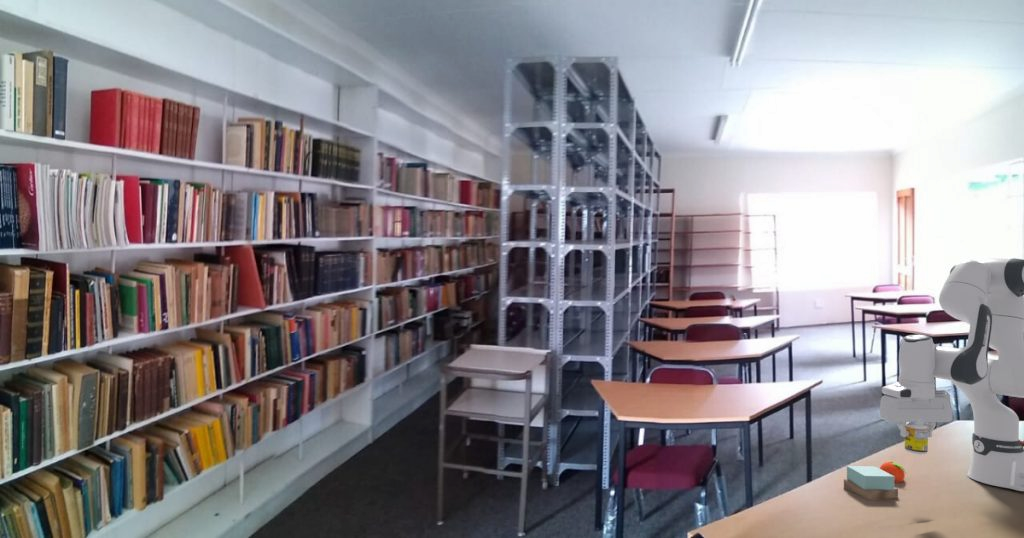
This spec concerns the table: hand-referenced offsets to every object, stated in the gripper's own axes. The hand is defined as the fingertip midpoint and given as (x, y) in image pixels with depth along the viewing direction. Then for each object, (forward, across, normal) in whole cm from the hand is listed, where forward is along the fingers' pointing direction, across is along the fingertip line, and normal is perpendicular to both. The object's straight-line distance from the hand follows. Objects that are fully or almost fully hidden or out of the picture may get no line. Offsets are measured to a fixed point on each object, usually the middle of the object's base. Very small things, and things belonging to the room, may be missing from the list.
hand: (916, 436), depth 169 cm
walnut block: (+21, +9, -8) cm, 24 cm away
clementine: (+20, -6, -17) cm, 27 cm away
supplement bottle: (+5, 0, 0) cm, 5 cm away
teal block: (+17, +9, -7) cm, 20 cm away
